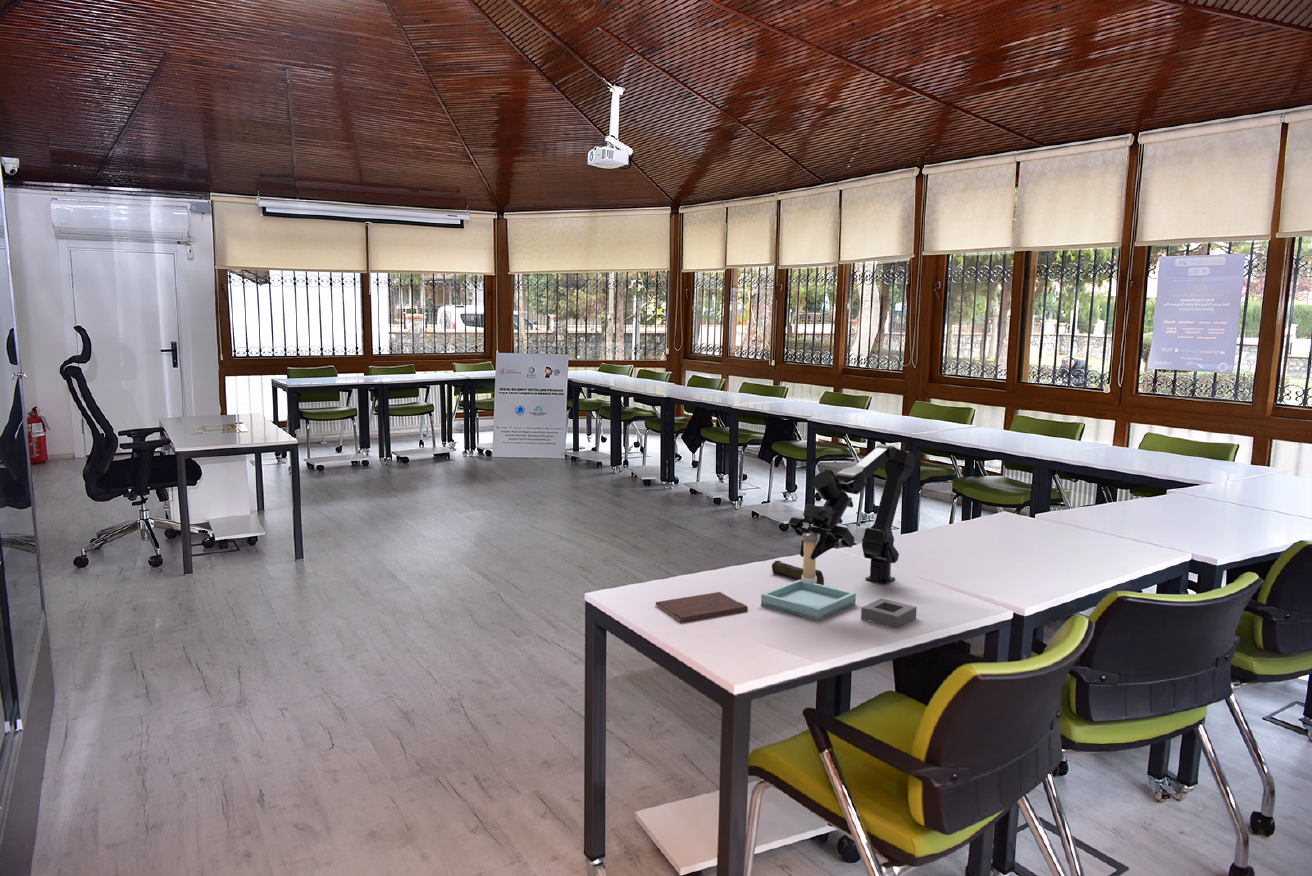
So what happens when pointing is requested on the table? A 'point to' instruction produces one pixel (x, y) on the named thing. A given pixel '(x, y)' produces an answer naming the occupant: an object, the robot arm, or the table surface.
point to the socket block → (888, 612)
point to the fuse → (809, 558)
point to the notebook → (702, 607)
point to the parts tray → (808, 599)
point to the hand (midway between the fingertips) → (806, 557)
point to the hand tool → (794, 571)
